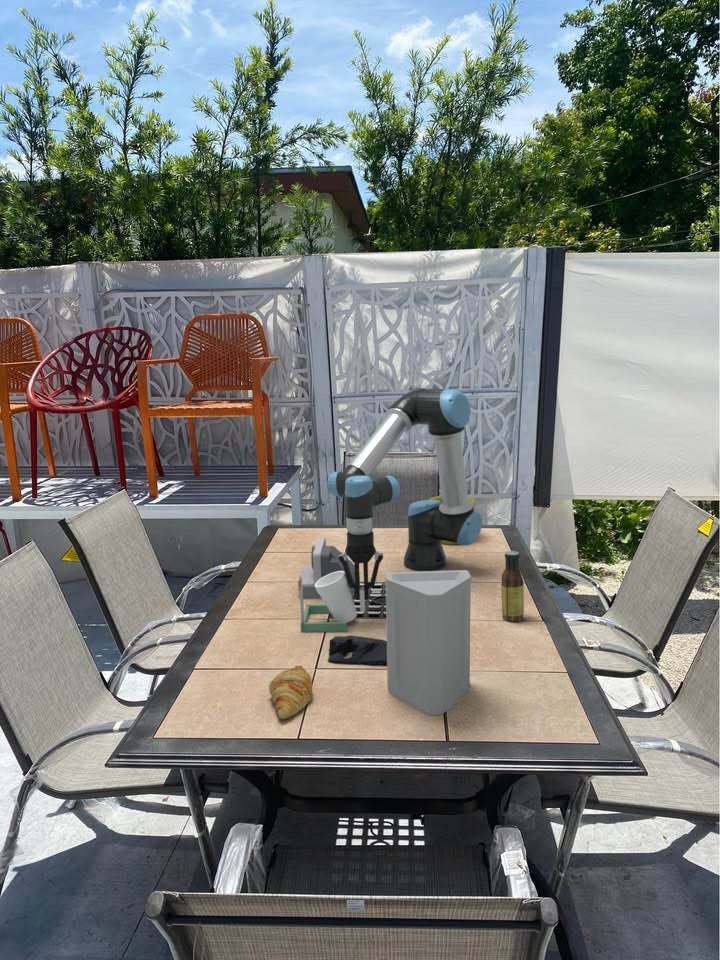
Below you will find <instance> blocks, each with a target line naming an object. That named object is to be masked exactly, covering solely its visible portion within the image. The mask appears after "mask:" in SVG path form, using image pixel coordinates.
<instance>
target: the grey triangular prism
mask: <svg viewBox="0 0 720 960" xmlns="http://www.w3.org/2000/svg"><path fill="white" fill-rule="evenodd" d="M471 577H472V576H471V574H470V572H469V570H466V569H464V570H460V569H459V570H433V571H393V572H390V571H389V572H385V611H386V613H385V615H386V617H385V618H386V619H385V620H386V641H387V664H386V669H387V670H386V673H387V674H386V676H387V677H386V680H387V682H386V683H387V691H388V694H389V695H391V696H393V697H395V698H397V699H398V700H401V701H402V702H403V703H406V704H407V705H408V706H410V707H412V708H414V709H415V710H418V711H419V712H421V713H424V714H425V715H427V716H441V715H443V714H444V713H445V712H447V711H448V710H449V709H450V708H451V707H453V705H455V704H456V703H457V702H459V700H461V699H462V698H463V697H464V696H465V695H467V694H468V692H469V691H470V689H471V688H470V686H471V685H470V681H471V677H470V675H471V672H470V671H471V669H470V668H471V666H470V665H471V662H470V661H471V591H472V589H471V585H472V584H471V583H472V582H471V581H472V579H471Z"/></svg>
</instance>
